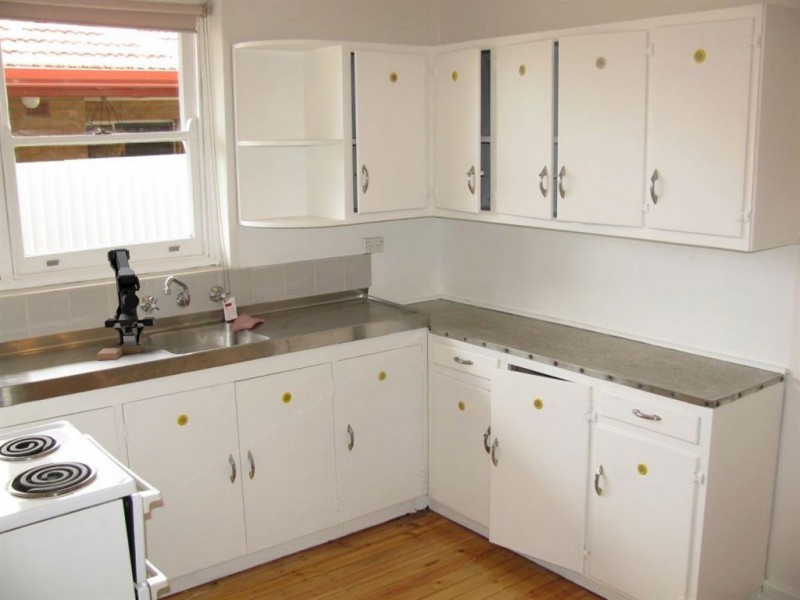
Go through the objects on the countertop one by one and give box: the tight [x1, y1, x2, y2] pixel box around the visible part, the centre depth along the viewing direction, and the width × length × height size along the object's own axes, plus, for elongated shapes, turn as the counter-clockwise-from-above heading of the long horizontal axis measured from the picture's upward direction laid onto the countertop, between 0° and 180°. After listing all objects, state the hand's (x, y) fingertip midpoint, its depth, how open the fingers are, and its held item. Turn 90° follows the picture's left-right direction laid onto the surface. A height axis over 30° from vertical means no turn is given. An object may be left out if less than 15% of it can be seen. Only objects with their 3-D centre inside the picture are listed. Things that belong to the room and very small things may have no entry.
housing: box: [123, 331, 141, 346], centre depth 335 cm, size 7×4×5 cm, turn 5°
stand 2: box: [119, 341, 145, 354], centre depth 335 cm, size 9×7×2 cm
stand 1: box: [97, 347, 123, 361], centre depth 324 cm, size 9×7×2 cm
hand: (131, 343), depth 335 cm, fingers closed on housing, 4 cm apart
